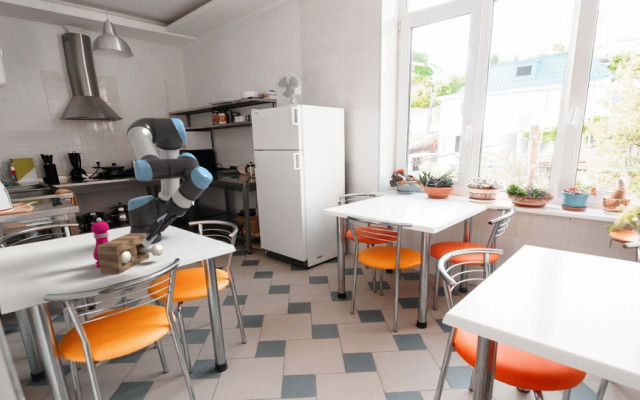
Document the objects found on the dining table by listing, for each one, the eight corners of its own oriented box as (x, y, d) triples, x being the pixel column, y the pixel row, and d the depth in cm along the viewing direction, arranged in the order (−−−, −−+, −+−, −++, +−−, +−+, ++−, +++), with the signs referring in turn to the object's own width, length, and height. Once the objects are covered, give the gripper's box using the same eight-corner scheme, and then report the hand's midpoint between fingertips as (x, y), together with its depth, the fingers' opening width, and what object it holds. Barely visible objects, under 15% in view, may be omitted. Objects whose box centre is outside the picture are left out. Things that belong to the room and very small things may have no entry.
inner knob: (145, 253, 139) (144, 243, 139) (163, 253, 138) (162, 243, 138) (138, 257, 135) (136, 246, 134) (156, 257, 134) (155, 246, 133)
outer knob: (112, 260, 131) (111, 249, 131) (131, 260, 130) (130, 249, 130) (104, 264, 127) (102, 253, 126) (123, 264, 126) (122, 253, 125)
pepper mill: (119, 261, 138) (113, 215, 134) (107, 268, 131) (100, 219, 127) (104, 261, 139) (97, 216, 135) (90, 267, 131) (83, 220, 128)
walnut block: (132, 257, 143) (129, 233, 141) (149, 257, 142) (146, 233, 140) (100, 273, 125) (96, 246, 123) (119, 273, 124) (116, 246, 122)
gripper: (178, 212, 114) (140, 257, 119) (196, 205, 127) (161, 246, 132) (162, 198, 114) (125, 243, 119) (182, 192, 127) (148, 233, 132)
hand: (144, 244), depth 126 cm, fingers closed
